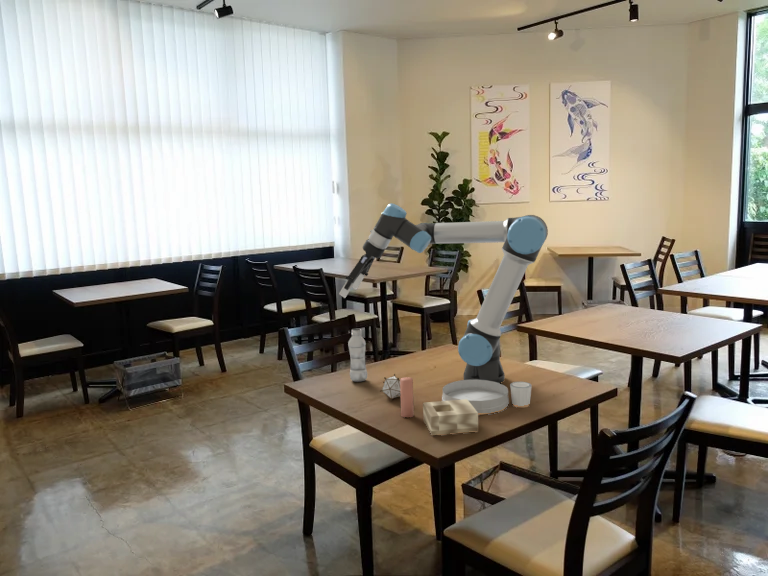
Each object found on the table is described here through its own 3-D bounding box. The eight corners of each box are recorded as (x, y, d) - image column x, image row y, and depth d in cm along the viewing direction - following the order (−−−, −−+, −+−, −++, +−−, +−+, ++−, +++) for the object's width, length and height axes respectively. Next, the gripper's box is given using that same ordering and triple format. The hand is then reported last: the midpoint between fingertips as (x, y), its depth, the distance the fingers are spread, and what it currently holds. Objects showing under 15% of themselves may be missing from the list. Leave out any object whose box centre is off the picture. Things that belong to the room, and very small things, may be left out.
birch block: (467, 417, 191) (467, 399, 190) (478, 432, 179) (477, 412, 178) (423, 421, 189) (422, 402, 188) (431, 436, 178) (431, 416, 177)
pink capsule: (412, 412, 197) (411, 376, 195) (414, 417, 193) (413, 380, 191) (400, 413, 196) (399, 377, 194) (402, 418, 192) (401, 381, 191)
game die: (392, 406, 214) (396, 379, 218) (409, 403, 208) (412, 375, 212) (373, 399, 209) (377, 371, 213) (389, 395, 203) (393, 367, 207)
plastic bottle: (367, 383, 228) (365, 331, 225) (349, 384, 228) (346, 331, 225) (368, 378, 234) (366, 327, 231) (350, 378, 235) (348, 328, 231)
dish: (478, 388, 219) (478, 375, 218) (523, 405, 200) (523, 391, 199) (428, 402, 207) (428, 387, 206) (471, 421, 189) (471, 406, 188)
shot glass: (519, 410, 196) (519, 389, 195) (505, 403, 202) (505, 383, 201) (536, 405, 199) (536, 385, 198) (522, 399, 205) (522, 379, 204)
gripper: (376, 233, 230) (349, 279, 237) (357, 243, 206) (328, 293, 213) (393, 244, 229) (365, 290, 236) (376, 255, 206) (345, 305, 212)
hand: (347, 291), depth 224 cm, fingers open, 13 cm apart
